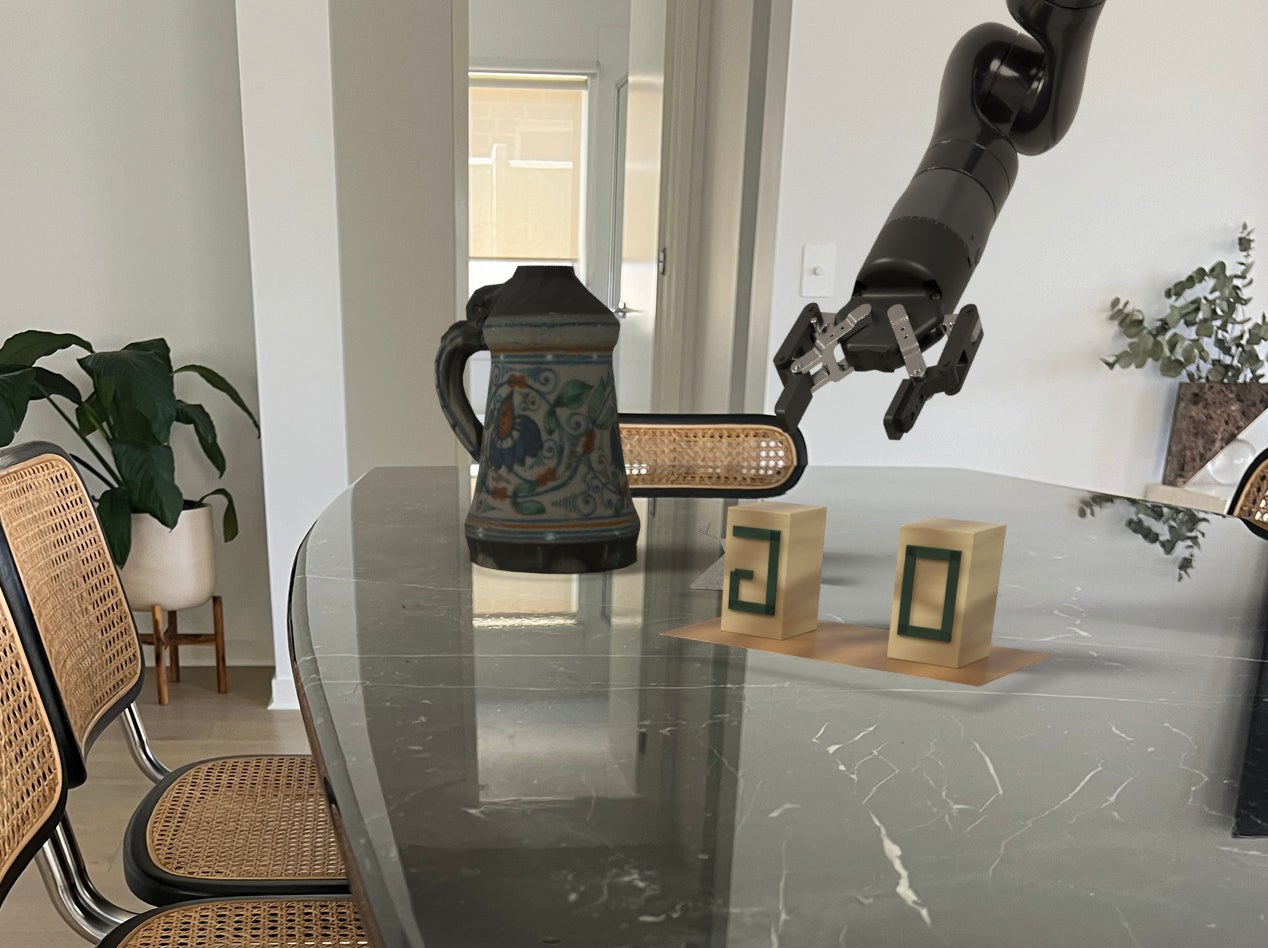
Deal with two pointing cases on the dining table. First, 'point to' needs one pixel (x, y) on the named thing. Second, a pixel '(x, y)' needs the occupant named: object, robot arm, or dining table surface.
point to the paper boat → (712, 568)
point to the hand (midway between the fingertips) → (836, 428)
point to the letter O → (945, 591)
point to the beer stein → (541, 426)
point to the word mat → (863, 651)
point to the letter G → (773, 569)
